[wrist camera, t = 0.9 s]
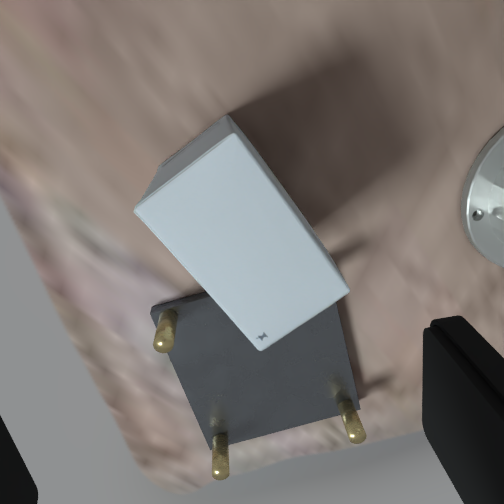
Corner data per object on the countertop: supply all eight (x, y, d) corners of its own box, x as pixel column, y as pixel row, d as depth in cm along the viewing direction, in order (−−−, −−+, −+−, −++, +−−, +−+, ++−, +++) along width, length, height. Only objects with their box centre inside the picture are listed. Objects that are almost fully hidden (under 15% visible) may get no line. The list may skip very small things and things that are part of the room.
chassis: (324, 257, 33) (339, 284, 29) (357, 401, 39) (373, 440, 35) (151, 306, 34) (142, 340, 30) (210, 441, 40) (209, 484, 36)
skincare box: (314, 226, 32) (356, 293, 23) (245, 274, 33) (257, 357, 24) (230, 108, 28) (237, 128, 19) (155, 166, 30) (126, 213, 20)
